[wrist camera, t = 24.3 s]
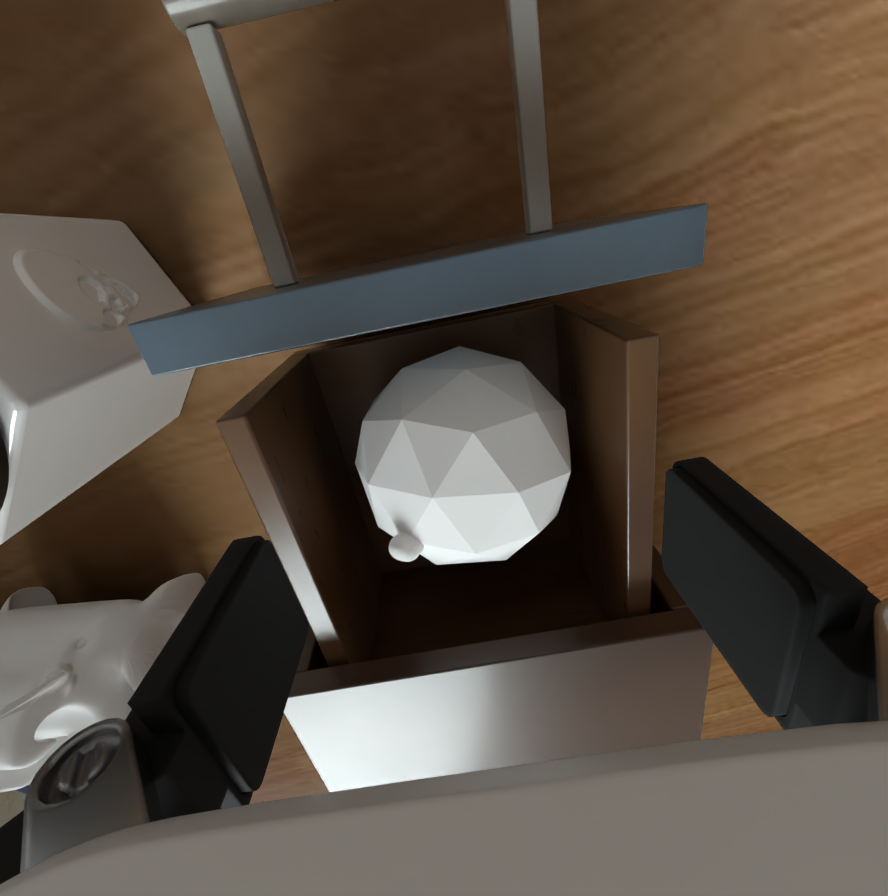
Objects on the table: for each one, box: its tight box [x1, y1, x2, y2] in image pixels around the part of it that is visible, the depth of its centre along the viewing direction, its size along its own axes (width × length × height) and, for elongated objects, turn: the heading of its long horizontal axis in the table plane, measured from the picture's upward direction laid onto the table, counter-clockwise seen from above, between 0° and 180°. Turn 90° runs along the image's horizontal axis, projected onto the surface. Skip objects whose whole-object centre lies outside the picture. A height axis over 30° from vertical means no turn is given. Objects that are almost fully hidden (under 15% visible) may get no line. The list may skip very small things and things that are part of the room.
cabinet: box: [284, 545, 713, 792], centre depth 21 cm, size 16×14×10 cm
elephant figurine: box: [0, 573, 206, 792], centre depth 20 cm, size 10×12×9 cm
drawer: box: [128, 0, 708, 667], centre depth 14 cm, size 21×12×8 cm, turn 11°
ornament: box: [355, 346, 571, 565], centre depth 15 cm, size 7×7×8 cm
